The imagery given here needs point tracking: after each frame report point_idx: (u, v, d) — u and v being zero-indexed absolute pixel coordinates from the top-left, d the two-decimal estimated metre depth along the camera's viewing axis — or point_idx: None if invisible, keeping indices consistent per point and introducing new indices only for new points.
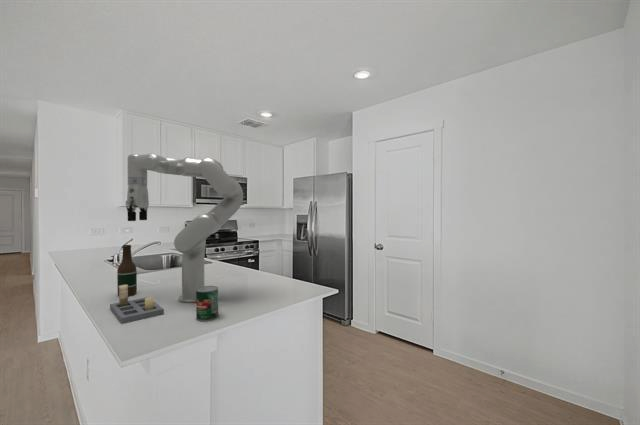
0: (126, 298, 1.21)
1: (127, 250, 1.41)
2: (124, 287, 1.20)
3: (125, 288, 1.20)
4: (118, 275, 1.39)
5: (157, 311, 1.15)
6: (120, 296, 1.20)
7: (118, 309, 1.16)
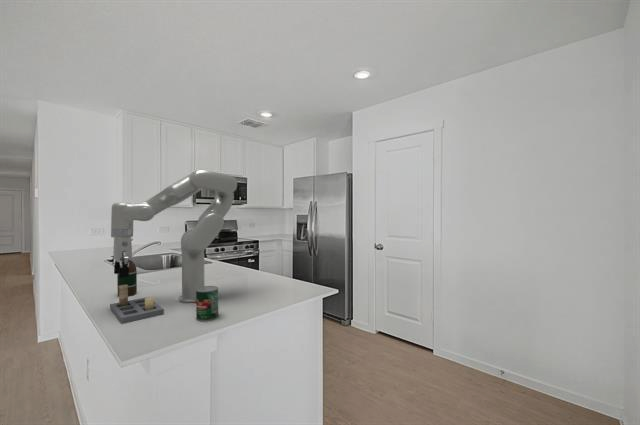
0: (126, 298, 1.21)
1: None
2: (124, 287, 1.20)
3: (125, 288, 1.20)
4: (118, 275, 1.39)
5: (157, 311, 1.15)
6: (120, 296, 1.20)
7: (118, 309, 1.16)
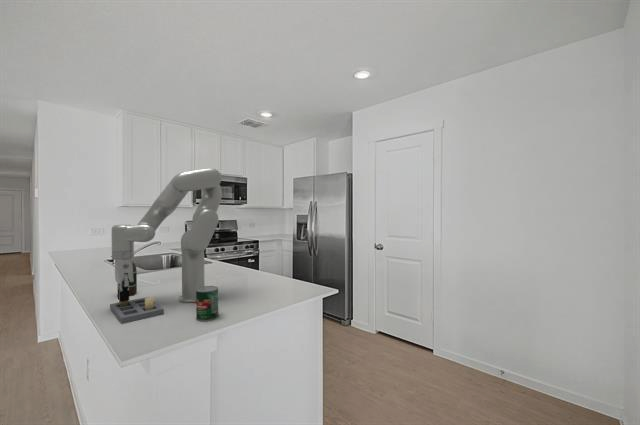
0: None
1: None
2: None
3: None
4: None
5: (157, 311, 1.15)
6: None
7: (118, 309, 1.16)
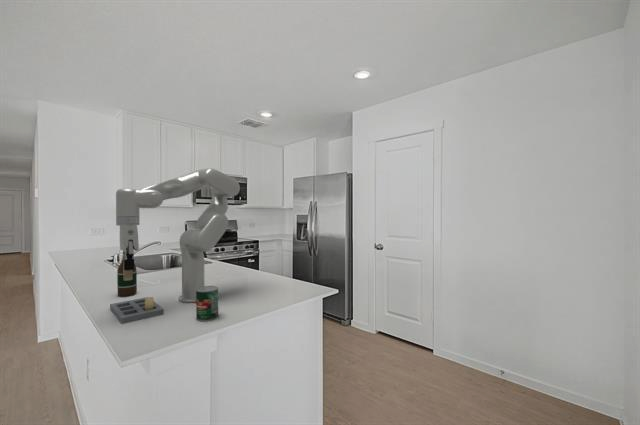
0: None
1: None
2: None
3: None
4: (118, 275, 1.39)
5: (157, 311, 1.15)
6: None
7: (118, 309, 1.16)
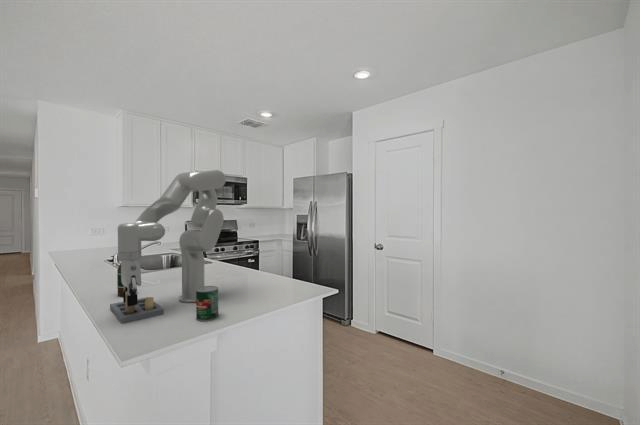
0: None
1: None
2: None
3: None
4: (118, 275, 1.39)
5: (157, 311, 1.15)
6: (126, 303, 1.11)
7: (118, 309, 1.16)
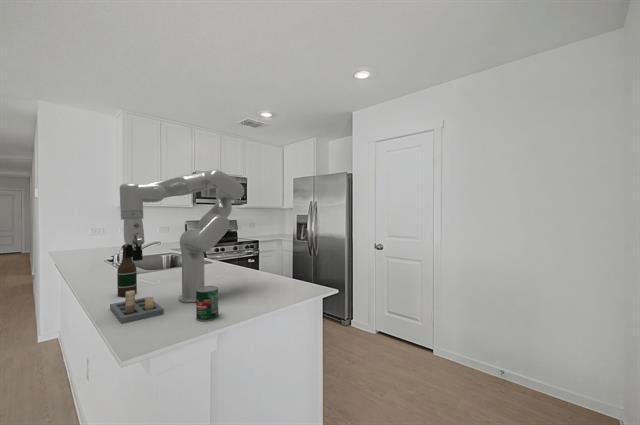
0: (133, 305, 1.12)
1: None
2: (131, 293, 1.11)
3: (132, 294, 1.12)
4: (118, 275, 1.39)
5: (157, 311, 1.15)
6: (127, 303, 1.11)
7: (118, 309, 1.16)
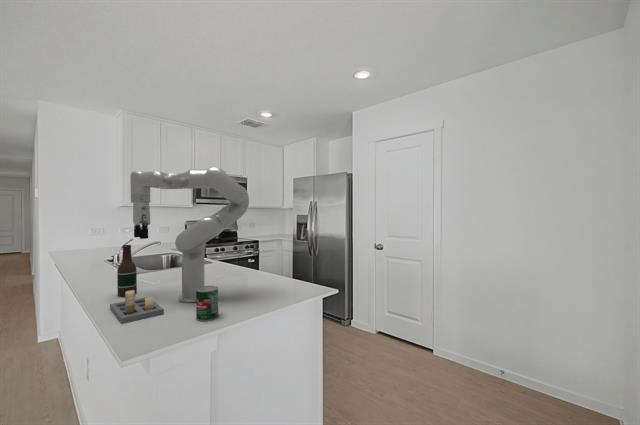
0: (133, 305, 1.12)
1: (127, 250, 1.41)
2: (131, 293, 1.11)
3: (131, 294, 1.12)
4: (118, 275, 1.39)
5: (157, 311, 1.15)
6: (127, 303, 1.11)
7: (118, 309, 1.16)
